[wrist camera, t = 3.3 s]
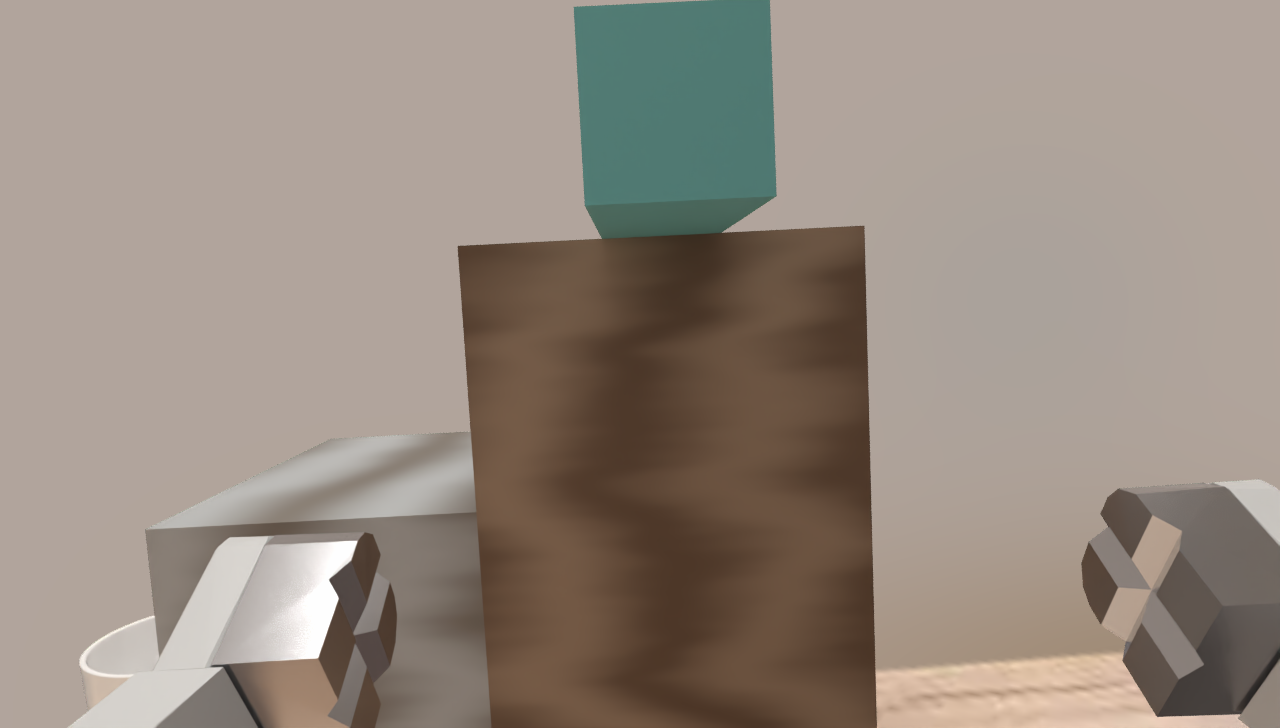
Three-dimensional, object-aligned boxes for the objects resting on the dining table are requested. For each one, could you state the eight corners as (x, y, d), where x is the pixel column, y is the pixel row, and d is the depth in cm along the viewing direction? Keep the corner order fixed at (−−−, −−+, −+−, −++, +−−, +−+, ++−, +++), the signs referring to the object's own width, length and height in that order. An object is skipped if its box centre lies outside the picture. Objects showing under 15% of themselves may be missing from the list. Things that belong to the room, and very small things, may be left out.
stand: (791, 763, 41) (773, 251, 38) (884, 1035, 26) (864, 225, 24) (360, 787, 41) (316, 274, 38) (204, 1075, 26) (116, 263, 23)
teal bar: (685, 256, 38) (682, 182, 38) (776, 195, 15) (769, -3, 14) (612, 259, 38) (609, 186, 38) (585, 205, 15) (573, 7, 14)
